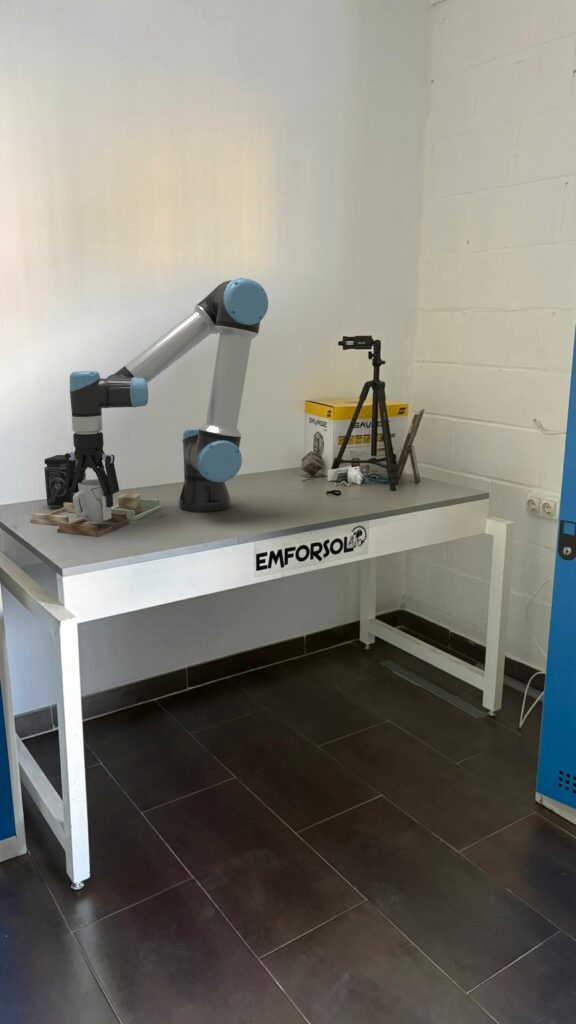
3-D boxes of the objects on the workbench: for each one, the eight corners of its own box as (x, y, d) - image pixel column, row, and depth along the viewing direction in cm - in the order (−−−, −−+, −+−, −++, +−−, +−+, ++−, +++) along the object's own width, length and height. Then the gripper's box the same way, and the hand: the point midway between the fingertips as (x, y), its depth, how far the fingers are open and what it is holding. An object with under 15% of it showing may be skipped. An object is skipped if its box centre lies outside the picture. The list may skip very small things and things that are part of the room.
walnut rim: (129, 523, 209) (128, 514, 209) (98, 536, 196) (98, 527, 195) (89, 519, 213) (89, 510, 213) (57, 532, 200) (56, 522, 200)
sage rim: (161, 508, 226) (161, 500, 225) (135, 520, 212) (135, 511, 212) (124, 505, 230) (124, 496, 229) (96, 516, 217) (96, 507, 216)
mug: (87, 527, 197) (84, 488, 195) (64, 522, 202) (62, 485, 200) (119, 517, 207) (117, 481, 204) (97, 513, 211) (95, 477, 209)
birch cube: (140, 510, 223) (140, 493, 222) (136, 515, 218) (135, 497, 217) (123, 510, 224) (123, 493, 223) (118, 514, 219) (118, 497, 218)
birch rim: (100, 514, 219) (100, 505, 218) (69, 526, 206) (69, 517, 205) (63, 510, 223) (62, 502, 223) (30, 522, 210) (29, 513, 209)
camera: (78, 511, 223) (75, 460, 219) (45, 509, 225) (41, 458, 221) (94, 503, 232) (91, 454, 229) (62, 501, 234) (58, 452, 231)
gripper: (130, 431, 199) (135, 517, 204) (62, 428, 206) (69, 511, 211) (114, 435, 192) (119, 524, 197) (45, 432, 199) (51, 517, 204)
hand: (93, 517), depth 204 cm, fingers closed on mug, 8 cm apart
